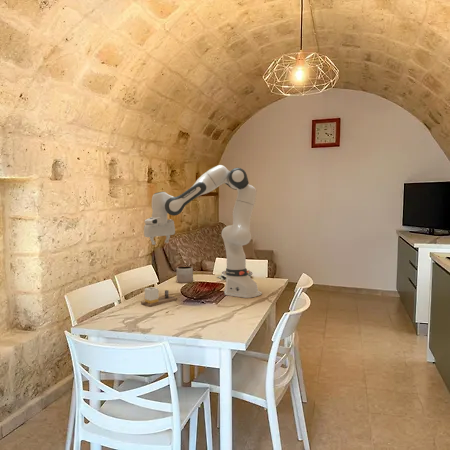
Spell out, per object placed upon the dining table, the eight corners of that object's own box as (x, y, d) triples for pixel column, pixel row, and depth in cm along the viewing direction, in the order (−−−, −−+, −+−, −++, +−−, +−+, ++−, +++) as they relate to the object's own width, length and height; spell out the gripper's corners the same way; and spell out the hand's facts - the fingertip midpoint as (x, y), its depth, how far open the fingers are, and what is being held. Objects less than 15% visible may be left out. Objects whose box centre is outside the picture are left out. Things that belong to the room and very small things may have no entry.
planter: (196, 280, 268) (196, 266, 268) (186, 284, 259) (186, 269, 259) (183, 279, 274) (183, 265, 274) (173, 282, 265) (172, 267, 264)
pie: (230, 273, 296) (230, 266, 295) (264, 277, 282) (264, 270, 282) (209, 280, 272) (209, 273, 271) (245, 284, 258) (245, 277, 258)
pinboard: (177, 299, 219) (176, 290, 219) (150, 306, 206) (149, 296, 206) (168, 297, 225) (167, 288, 225) (141, 304, 212) (140, 294, 212)
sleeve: (158, 301, 212) (158, 288, 212) (150, 303, 209) (150, 290, 208) (152, 299, 216) (152, 287, 215) (145, 301, 212) (144, 288, 212)
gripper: (170, 218, 242) (170, 241, 243) (141, 220, 227) (142, 245, 228) (177, 219, 238) (177, 242, 239) (148, 221, 223) (149, 245, 224)
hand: (160, 243), depth 233 cm, fingers open, 8 cm apart
